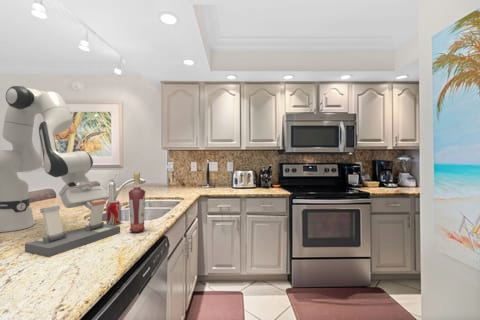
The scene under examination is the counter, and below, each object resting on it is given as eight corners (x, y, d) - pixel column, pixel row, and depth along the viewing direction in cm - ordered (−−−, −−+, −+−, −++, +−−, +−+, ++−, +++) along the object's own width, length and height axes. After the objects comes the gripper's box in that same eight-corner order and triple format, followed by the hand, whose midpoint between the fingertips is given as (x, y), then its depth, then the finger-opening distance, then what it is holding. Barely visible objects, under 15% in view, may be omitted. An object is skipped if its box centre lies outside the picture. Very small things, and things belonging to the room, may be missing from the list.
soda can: (114, 226, 130) (114, 202, 130) (103, 225, 131) (102, 202, 131) (123, 222, 137) (123, 200, 137) (112, 222, 138) (112, 200, 138)
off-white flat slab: (86, 229, 112) (90, 201, 110) (98, 225, 117) (102, 199, 116) (90, 230, 111) (94, 202, 110) (102, 227, 116) (106, 200, 115)
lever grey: (45, 242, 96) (39, 209, 97) (61, 237, 101) (56, 206, 102) (49, 241, 95) (43, 208, 96) (65, 236, 100) (59, 205, 101)
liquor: (144, 233, 117) (144, 172, 117) (127, 234, 116) (127, 173, 116) (146, 228, 125) (146, 172, 124) (130, 229, 123) (130, 172, 123)
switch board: (24, 251, 95) (24, 237, 95) (98, 229, 123) (98, 218, 123) (49, 256, 89) (48, 241, 89) (120, 232, 118) (120, 221, 118)
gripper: (97, 188, 128) (111, 209, 124) (54, 194, 109) (70, 219, 105) (103, 180, 126) (118, 201, 123) (61, 185, 107) (77, 210, 104)
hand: (95, 210), depth 114 cm, fingers closed, pressing on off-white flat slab
